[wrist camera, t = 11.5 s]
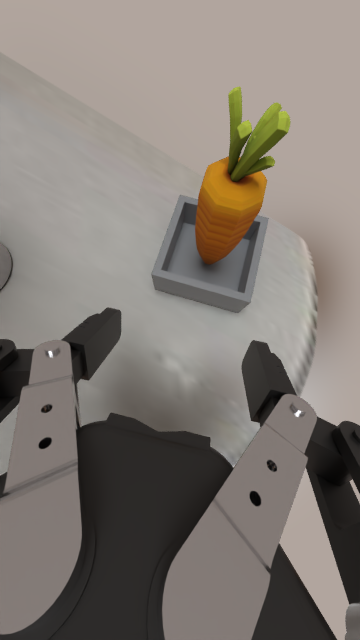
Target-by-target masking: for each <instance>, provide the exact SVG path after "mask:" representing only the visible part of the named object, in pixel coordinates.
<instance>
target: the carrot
mask: <svg viewBox="0 0 360 640" xmlns="http://www.w3.org/2000/svg"><path fill="white" fill-rule="evenodd" d="M281 108H282V107H281V105H280V104H279V103H274V104H273V105H271V106H270V107H269V108H268V109H267V111H266V112H265V113H264V115H263V116H262V117H261V119H260V120H259V122H258V124H257V125H256V127H255V129H254V130H253V132H252V127H251V123H250V122H249V120H247V121H245V122H243V123H242V124H241V119H242V96H241V88H240V87H236V88H234V89H233V90H232V91H231V92H230V93H229V111H230V150H229V157H226V158H224V159H222V160H219V161H217V162H215V163H213V164H211V165H209V166H208V168H207V170H206V172H205V176H204V179H203V182H202V186H201V189H200V192H199V197H198V205H197V213H196V224H195V237H196V246H197V250H198V252H199V255H200V256H201V258H202V260H203V261H204V262H205V264H208V265H210V264H213V263H215V262H217V261H219V260H221V259H223V258H224V257H226V256H227V255H228V254H229V253H230V252H231V251H232V250H233V249H234V248H235V247H236V246H237V245H238V244H239V242H240V241H241V240H242V238H243V237H244V235H245V234H246V232H247V231H248V229H249V228H250V226H251V224H252V223H253V221H254V219H255V218H256V216H257V214H258V213H259V211H260V209H261V207H262V202H263V198H264V193H265V188H266V184H267V179H266V177H265V176H264V174H263V173H262V172H261V171H262V170H264V169H267V168H270V167H272V166H274V164H275V160H274V159H273V158H272V157H271V156H268V157H267V156H266V157H263V158H261V157H262V156H263V155H264V154H265V153H266V152H268V151H269V150H270V149H271V148H272V147H273V146H274V145H275V144H276V143H278V141H279V140H281V139H282V138H283V137H284V136H285V135H286V134H287V133H288V130H289V127H290V117H289V115H288V114H287V112H286V111H282V112H279V111H280V110H281ZM251 133H252V134H251ZM250 134H251V136H250ZM249 136H250V138H249ZM248 138H249V140H248ZM247 140H248V142H247V145H246V147H245V150H244V153H243V155H242V156H241V157H239V156H240V153H241V150H242V148H243V146H244V145H245V143H246V141H247ZM260 158H261V159H260Z"/></svg>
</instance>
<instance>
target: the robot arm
mask: <svg viewBox="0 0 360 640" xmlns="http://www.w3.org/2000/svg"><path fill="white" fill-rule="evenodd" d="M11 267H12V263H11V256H10V253H9V252H8V250H7V248H6V247H5V246H4V245H3V244H1V243H0V289H1V288H2V287H3V285H4V284H5V283H6V281H7V279H8V277H9V275H10V272H11ZM120 336H121V311H120V310H117V309H112V308H106V309H105V310H104V311H103V312H102V313H100V314H98V313H97V314H95V315H92V316H90V317H88V318H87V319H86V320H85V321H83V323H81V324H80V325H79V326H78V327H76V328H75V329H74V330H73V331H71V332H70V333H69V334H68V335H67V336H65V337H64V338H63V339H62V340H53V341H48V342H45V343H43V344H41V345H39V346H38V347H36V349H16V346H15V344H14V342H13V341H11V340H7V339H0V423H1V422H2V420H3V419H4V418H5V417H6V416H7V415H8V414H9V413H10V412H11V411H12V410H13V409H14V408H15V407H16V406H17V405H18V403H19V408H18V414H17V420H16V426H15V432H14V438H13V443H12V449H11V455H10V461H9V467H8V472H6V473H4V474H3V475H1V476H0V640H337V639H336V637H335V635H334V634H333V632H332V631H331V629H330V627H329V625H328V624H327V622H326V620H325V619H324V617H323V615H322V614H321V612H320V611H319V609H318V607H317V606H316V604H315V602H314V600H313V599H312V597H311V595H310V594H309V592H308V590H307V589H306V587H305V586H304V584H303V582H302V581H301V579H300V577H299V575H298V574H297V572H296V570H295V569H294V567H293V566H292V564H291V562H290V560H289V559H288V557H287V555H286V554H285V552H284V551H283V549H282V547H281V546H280V544H279V541H280V538H281V535H282V532H283V529H284V526H285V524H286V521H287V518H288V515H289V512H290V509H291V507H292V504H293V501H294V498H295V495H296V492H297V489H298V487H299V484H300V481H301V478H302V475H303V473H304V469H305V467H306V469H307V472H308V475H309V478H310V482H311V484H312V488H313V491H314V494H315V497H316V501H317V504H318V507H319V510H320V513H321V516H322V519H323V523H324V526H325V529H326V532H327V535H328V538H329V541H330V545H331V548H332V551H333V554H334V557H335V560H336V564H337V567H338V570H339V573H340V576H341V579H342V582H343V585H344V589H345V592H346V595H347V598H348V601H349V604H350V605H349V607H348V609H347V611H346V631H347V633H346V635H345V640H360V504H359V501H358V499H357V497H356V495H355V493H354V491H353V488H352V486H351V484H350V482H349V481H350V480H352V479H353V481H354V483H355V485H356V487H357V489H358V491H359V493H360V426H359V425H357V424H355V423H353V422H349V421H343V422H341V423H340V424H339V425H338V426H335V425H333V424H331V423H329V422H327V421H325V420H323V419H321V418H319V417H317V415H316V413H315V411H314V409H313V408H312V407H311V406H310V405H309V404H308V403H307V402H306V401H305V400H303V399H302V398H300V397H298V396H297V395H296V393H295V390H294V388H293V386H292V384H291V382H290V380H289V377H288V375H287V373H286V371H285V369H284V367H283V364H282V362H281V360H280V359H279V358H278V357H277V356H276V355H275V354H274V353H271V352H270V349H269V347H268V345H267V343H264V342H259V341H255V340H253V341H252V342H251V343H250V346H249V348H248V350H247V352H246V354H245V357H244V359H243V362H242V374H243V379H244V385H245V390H246V396H247V401H248V407H249V412H250V417H251V421H254V422H258V423H260V427H261V428H260V429H259V431H258V432H257V434H256V435H255V437H254V438H253V440H252V441H251V443H250V444H249V446H248V447H247V449H246V450H245V452H244V453H243V454H242V456H241V457H240V459H239V460H238V462H237V463H236V465H235V466H234V468H233V467H232V465H231V464H230V463H229V462H228V461H227V460H226V459H225V457H223V456H222V455H221V454H220V453H219V452H218V451H216V450H215V449H213V448H212V447H210V437H206V436H202V435H198V434H194V433H190V432H186V431H178V432H158V431H155V430H154V429H152V428H150V427H148V426H147V425H145V424H143V423H141V422H140V421H138V420H136V419H134V418H130V417H126V416H122V415H118V414H114V413H110V415H109V417H108V419H107V421H97V422H93V423H89V424H87V425H84V426H82V425H81V418H80V408H79V398H78V388H77V383H78V381H79V380H80V379H84V380H88V381H89V380H90V378H91V377H92V376H93V374H94V373H95V372H96V370H97V369H98V368H99V366H100V365H101V363H102V362H103V361H104V359H105V358H106V357H107V355H108V354H109V353H110V351H111V350H112V349H113V347H114V346H115V345H116V343H117V342H118V340H119V338H120Z"/></svg>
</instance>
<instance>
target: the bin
mask: <svg viewBox="0 0 360 640" xmlns="http://www.w3.org/2000/svg"><path fill="white" fill-rule="evenodd" d="M197 205H198V199H194V198H190V197H186V196H183V195H180V196H179V199H178V202H177V204H176V207H175V210H174V213H173V216H172V218H171V221H170V224H169V227H168V229H167V232H166V235H165V238H164V241H163V243H162V246H161V249H160V252H159V254H158V257H157V260H156V263H155V265H154V268H153V271H152V274H151V275H152V279H153V283H154V287H155V289H156V290H160V291H163V292H166V293H170V294H173V295H177V296H180V297H184V298H187V299H191V300H194V301H198V302H201V303H205V304H208V305H212V306H215V307H219V308H222V309H226V310H229V311H233V312H236V313H238V312H239V311H241V310H242V309H243V308H244V307H246V306H247V305H248V304H249V303H250V302H251V298H252V293H253V288H254V284H255V279H256V275H257V270H258V265H259V261H260V256H261V251H262V247H263V242H264V237H265V233H266V228H267V224H268V219H269V218H266V217H262V216H258V215H257V216H256V218H255V219H254V221H253V223H252V224H251V226H250V228H249V229H248V231H247V232H246V234H245V235H244V237H243V238H242V240H241V241H240V242H239V244H238V245H237V246H236V247H235V248H234V249H233V250H232V251H231V252H230V253H229V254H228V255H227V256H226V257H224V258H223V259H221V260H219V261H217V262H215V263H213V264H210V265H208V264H205V262H204V261H203V260H202V258H201V256H200V255H199V252H198V250H197V246H196V237H195V224H196V213H197Z"/></svg>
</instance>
